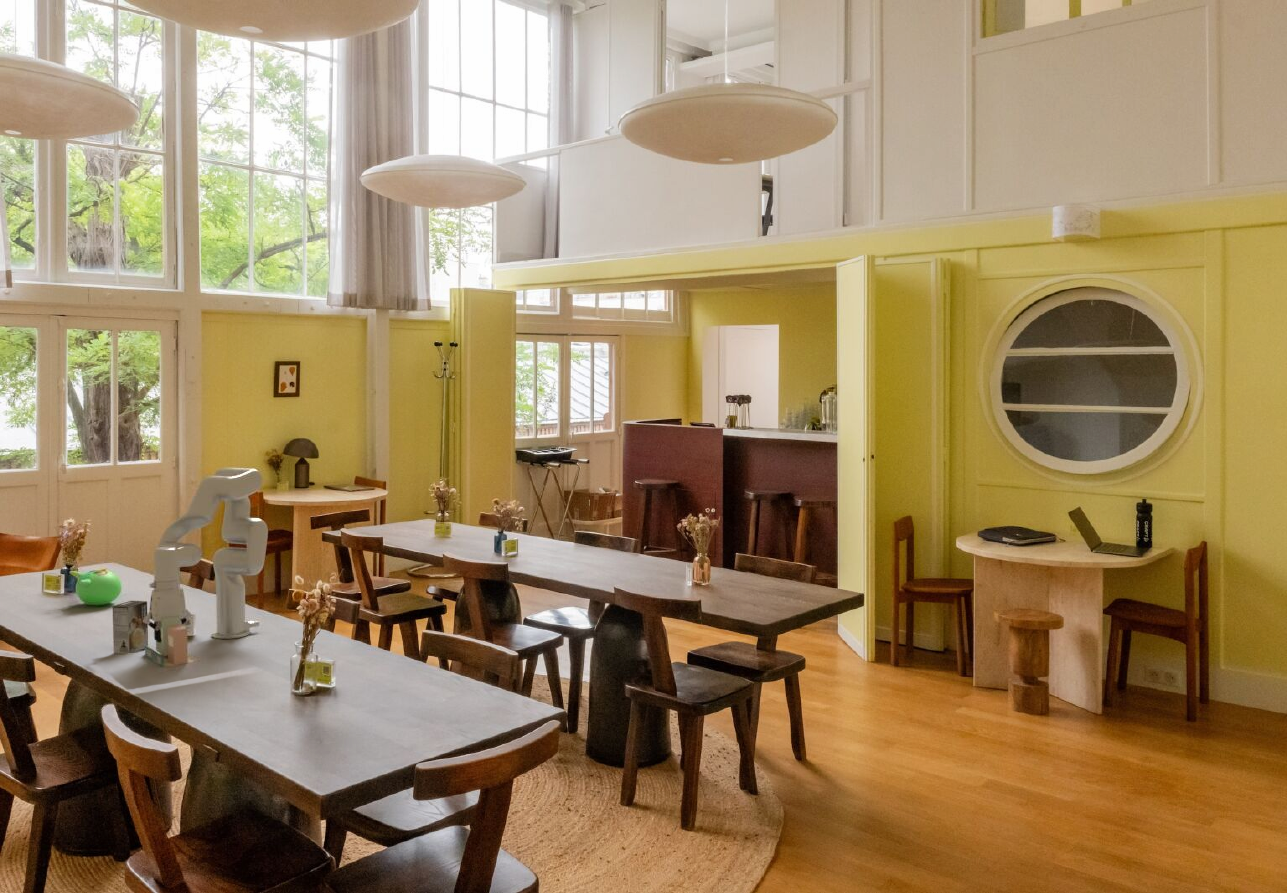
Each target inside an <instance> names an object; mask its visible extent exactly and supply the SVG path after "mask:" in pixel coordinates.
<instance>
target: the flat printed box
mask: <svg viewBox="0 0 1287 893" xmlns="http://www.w3.org/2000/svg"><path fill="white" fill-rule="evenodd" d="M144 655H145V656H146V657H147V658H149V659H150V660H151V661H153V662H154V663H156V664H157V665H159V666H160V667H162V668H164V667H165V668H167V667H172V666H175V665H174V664H172V663H171V662H169V661H168V655H165V656H164V655H162V654H161V653H159V652H158V651H156V650H154V649H153V648H151V647H150V646H149V645H148V646H147V645H146V646H145V649H144ZM199 661H200V660H199V659H198V658H195V657H194V656H193V655H191V654H189V653H188V663H187V664H189V663H194V662H199ZM183 664H185V663H183ZM183 664H182V665H183ZM177 665H179V664H177ZM177 665H176V666H177Z"/></svg>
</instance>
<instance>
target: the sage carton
mask: <svg viewBox="0 0 1287 893" xmlns="http://www.w3.org/2000/svg"><path fill="white" fill-rule="evenodd" d="M177 625H180V616H175V617H168V618H162V622H161V625H160V630H161V642H160V643H158V642H157V641H156V640H155V651H156V652H157V653H161V654H162V655H164V656H165V655H168V627H171V626H177Z"/></svg>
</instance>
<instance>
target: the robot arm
mask: <svg viewBox="0 0 1287 893" xmlns="http://www.w3.org/2000/svg"><path fill="white" fill-rule="evenodd" d="M263 483H264V478H263V475H262V473H261V471H259V470H258V469H255V468H249V467H248V468H247V467H245V468H244V467H241V468H240V467H223V468H218V469H217V470H216V471H215V472H214V475H209V476H206V477H204V478H203V479H201V481H200V483H199V485H198V487H197V489H196V491H195V493H194V496H193V498H192V501H191V503H190V505H189V506H188V509H187V511H186V512H185V513H184V514H182V516H180V517H179V518H177V519H176V520H175V521H174V522H172V523H171V524H170V525H169V526H168V527H167V528H166V529H165V531H164V532H163V534H162V536H161V538H160V540H159V542H158V545H157V547H156V548H155V550H154V551H153V582H151V583H149V585H148V586H149V588H150V589H151V588H152V590H151V595H150V600H149V601H150V602H149V612H147V616H146V617H145V618H144V619H143V622H144V623H146V624H147V625H148V627H151V628H152V629H153V634H154V635H153V636H154V640H155V642H156V641H157V642H158V643H160V642H161V630H160V625H161V622H162V618H168V617H175V616H180V625H182V626H184V624H185V623H186V622H187V620H189V619H190V618H191V617H192V613H191V612H190V611H189V610H188V609H187V607H186V597H185V593H184V592H185V591H184V588H183V587H181V583H180V582H181V580H180V578H181V573H180V572H181V571H180V569H181V568H183V567H192V566H195V565H197V564H199V562H200V561H201V559H202V557H203V551H202V549H201V547H200V546H199V545H197V544H195V543H185V542H180V540H181V539H182V538H184V536H186V535H187V534H189V533H190V532H193V531H195V530H198V529H201V528H203V527H205V526H208V525H209V524H211V523H212V522H213V520H214V517H215V515H216V513H217V510H218V508H219V506H220V504H221V502H224V513H223V522H222V527H221V538H222V540H223V541H224V542H225V543H228V544H235V545H239V544H240V545H246V547H236V546H235V547H233V546H226V547H221V548H219V549H218V550H216V551H215V552H214V555H213V556H212V565H213V566H212V567H213V571H214V575H215V576H214V577H215V587H216V588H215V592H216V597H215V598H216V601H215V602H216V630H214V631H212V632H211V636H212V638H215V639H220V640H221V639H223V640H226V639H227V640H228V639H229V640H230V639H238V638H239V639H240V638H243V637H246V636H249V635H250V634H251V631H250V629H251V628H257V627H259V626H260V622H259V621H257V620H256V621H253V620H250V621H247V620H246V584H245V580H244V579H243V576H256V575H258V574H260V572H261V571H262V570H263V568H264V564H265V560H266V559H265V558H266V552H267V545H268V543H267V542H268V538H269V536H268V535H269V529H268V526H267V523H266V521H264V520H263V519H261V518H258V517H250V515H251V506H252V505H251V501H250V497H249V496H251V495H253V494H255V493H257V492H258V491H259V490H260V489H261V488H262V486H263ZM151 620H152V621H153V622H152V621H151Z"/></svg>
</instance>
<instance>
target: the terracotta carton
mask: <svg viewBox="0 0 1287 893" xmlns="http://www.w3.org/2000/svg"><path fill="white" fill-rule="evenodd" d="M188 654H189V653H188V628H187V627H185V626H184V625H177V626H171V627H168V661H169V662H171V663H172V664H174V665H173V666H177V664H178V665H183V663H184V664H189V663H188Z"/></svg>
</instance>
